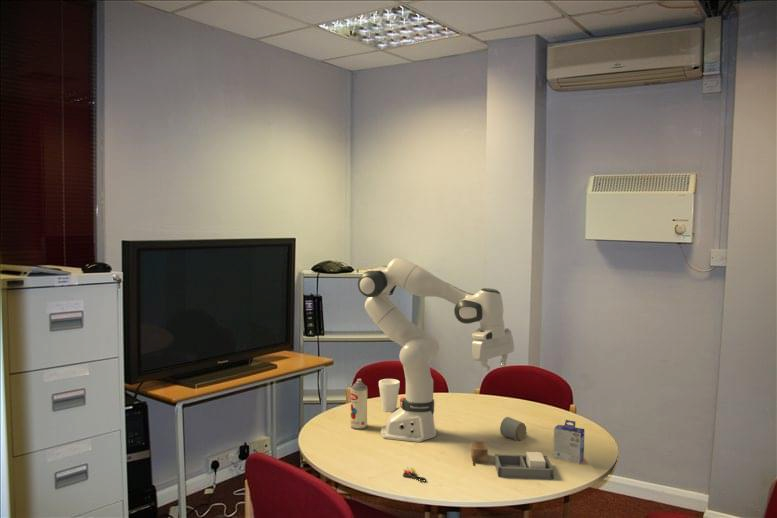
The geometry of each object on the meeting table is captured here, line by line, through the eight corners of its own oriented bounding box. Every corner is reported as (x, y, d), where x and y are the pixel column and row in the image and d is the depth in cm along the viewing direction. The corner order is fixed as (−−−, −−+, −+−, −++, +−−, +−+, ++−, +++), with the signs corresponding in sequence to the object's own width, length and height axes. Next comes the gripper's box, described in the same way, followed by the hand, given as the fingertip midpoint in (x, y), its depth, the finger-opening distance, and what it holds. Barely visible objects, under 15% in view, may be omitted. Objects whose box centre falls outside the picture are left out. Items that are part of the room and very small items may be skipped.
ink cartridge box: (584, 461, 217) (585, 422, 216) (580, 467, 212) (581, 426, 211) (556, 456, 222) (558, 417, 221) (552, 461, 217) (553, 421, 216)
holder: (498, 479, 201) (498, 467, 200) (494, 465, 213) (494, 454, 212) (553, 481, 200) (553, 470, 199) (546, 467, 211) (546, 455, 211)
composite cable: (428, 482, 199) (428, 475, 199) (416, 486, 196) (416, 478, 196) (411, 472, 207) (411, 465, 207) (399, 475, 204) (399, 468, 204)
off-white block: (529, 475, 202) (530, 460, 202) (526, 465, 210) (526, 451, 210) (545, 476, 202) (545, 461, 201) (540, 466, 210) (541, 452, 209)
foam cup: (380, 406, 279) (380, 378, 279) (400, 407, 278) (400, 379, 277) (377, 412, 270) (377, 383, 269) (397, 413, 269) (398, 384, 268)
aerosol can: (347, 425, 252) (348, 378, 251) (362, 423, 256) (362, 376, 254) (355, 430, 246) (355, 382, 245) (370, 427, 250) (370, 380, 248)
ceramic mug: (516, 443, 234) (517, 423, 234) (499, 437, 240) (499, 418, 240) (531, 437, 242) (532, 418, 241) (514, 431, 248) (514, 413, 247)
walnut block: (473, 466, 212) (473, 449, 212) (471, 457, 220) (471, 441, 220) (487, 466, 212) (487, 449, 211) (485, 457, 220) (485, 441, 219)
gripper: (503, 326, 235) (506, 362, 236) (468, 335, 222) (470, 372, 223) (516, 328, 230) (519, 363, 231) (481, 336, 217) (483, 374, 218)
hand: (495, 368), depth 227 cm, fingers open, 8 cm apart
